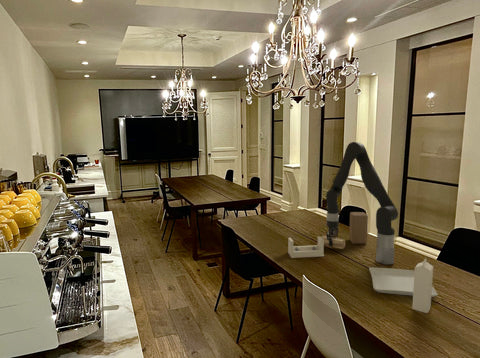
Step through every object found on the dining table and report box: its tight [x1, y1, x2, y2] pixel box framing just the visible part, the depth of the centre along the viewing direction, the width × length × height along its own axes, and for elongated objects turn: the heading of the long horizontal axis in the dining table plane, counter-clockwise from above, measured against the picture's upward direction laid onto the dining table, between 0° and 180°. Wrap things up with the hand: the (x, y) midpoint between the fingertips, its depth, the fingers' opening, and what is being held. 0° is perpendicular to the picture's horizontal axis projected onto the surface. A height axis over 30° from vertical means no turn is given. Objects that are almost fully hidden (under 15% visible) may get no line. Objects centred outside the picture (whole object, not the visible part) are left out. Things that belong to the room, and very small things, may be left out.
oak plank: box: [320, 235, 346, 250], centre depth 223 cm, size 4×15×5 cm, turn 52°
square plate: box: [368, 267, 439, 298], centre depth 170 cm, size 27×27×4 cm
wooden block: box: [348, 211, 369, 245], centre depth 235 cm, size 10×10×20 cm
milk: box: [411, 258, 434, 314], centre depth 147 cm, size 6×6×22 cm
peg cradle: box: [287, 236, 325, 259], centre depth 214 cm, size 10×20×10 cm, turn 95°
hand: (332, 244), depth 223 cm, fingers closed on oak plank, 4 cm apart
